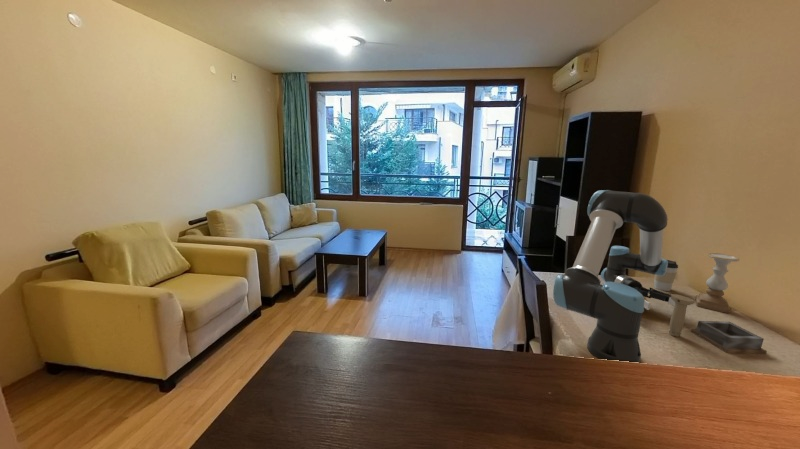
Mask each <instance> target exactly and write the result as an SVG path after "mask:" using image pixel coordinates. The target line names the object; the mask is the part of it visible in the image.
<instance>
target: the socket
mask: <svg viewBox="0 0 800 449" xmlns="http://www.w3.org/2000/svg"><path fill="white" fill-rule="evenodd" d="M690 333H692V334H694V335H696V336H698V337H699V338H701V339H703V340H704V341H706V342H707V343H709V344H711V345H712V346H715V347H716V348H718V349H719V350H721V351H722V352H724V353H730V354H732V353H734V354H735V353H737V354H767V350H766V349H765V348H762V347H763V346H762V345H763V342H764V340H765V339H764V338H763V337H761V336H759V335H758V334H755V333H753V332H752V331H749V330H747V329H745V328H743V327H741V326H739V325H737V324H735V323H733V322H732V321H721V320H720V321H719V320H717V321H715V320H698V321H697V327H696V328H691V329H690Z"/></svg>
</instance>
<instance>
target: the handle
mask: <svg viewBox="0 0 800 449" xmlns="http://www.w3.org/2000/svg"><path fill="white" fill-rule="evenodd" d="M670 295H671V299H672V300H673V301H675V306H673V310H672V313H671V316H670V321H669V330H668V334H670V335H671V336H673V337H677V338H679V337H680V336H681V333H682V331H683V329H684V326H685V321H686V319H685V318H686V313H687V312H686V311H687V308H688V306H692V305H693V304H694V303H695V300H694V299H692V298H691V297H689V296H688V297H687V296H684V295H681V294H676V293H673V294H670Z"/></svg>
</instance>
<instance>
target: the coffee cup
mask: <svg viewBox="0 0 800 449" xmlns="http://www.w3.org/2000/svg"><path fill="white" fill-rule="evenodd" d="M666 260H667V261H668V266H667V270H666V273H665V275H663V276H661V275H654V282H653V283H654V285H653V287H654V289H655V290H658V291H662V292H670V291H671V289H672V287H673V284H674V282H675V278H676V275H677V271H678V269H679V265H678V264H677V261H675V260H669V259H666Z"/></svg>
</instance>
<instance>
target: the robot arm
mask: <svg viewBox="0 0 800 449" xmlns="http://www.w3.org/2000/svg"><path fill="white" fill-rule="evenodd" d="M586 212H587V216H588V218H589V220H590V224H589V226H588V228H587V232H586V234H585V236H584V239H583V241H582V244H581V246H580V248H579V250H578V253H577V255H576V258H575V260H574V263H573V265H572V267H568V268H567V269H566V270H565V272H564V273H559V274H557V275H556V277H555V280H554V283H553V289H552V291H553V292H552V293H553V302H554V303H555V305H556V306H558V307H561V308H562V309H565V310H567V311H571V312H574V313H577V314H581V315H583V316H587V317H590V318H594V319H596V326H595V328H594V329H593V331H592V333H591V334H590V336H589V337H588V338H587V345H586V348H587V349H588V351H589V352H590V354H592V355H593V356H595V357H596V358H598V359H600V360H601V359H607V360H619V361H629V362H640V363H641V359H642V352H641V347H640V343H639V333H640V330H641V329H640V328H641V323H642V318H643V313H644V312H645V310H648V311H649V310H650V309H651V306H652V305H651V302H650V301H649V300H646V299H647V298H648V299H655V300H659V301H662V302H666V303H668V305H671V306H673V307H674V306H675V301H673V300H672V299H671V295H672V294H671V293H670V294H669V293H667V292H665V291H662V290H659V289H656V288H652V287H649V288H646V287H644V286H643V285H642V283H641V281H638V280H636V279H634V278H633V277H630V275H629V276H628V275H627V274H626V269H628V270H633V271H636V272H642V273H647V274H651V275H653V276H655V275H661V276H663V275H665V273H666V270H667V266H668V261H667V260H668V259H665V258H663V247H664V246H663V243H664V242H663V241H664V230H665V229H666V228H667V225H668V220H669V219H668V214H667V212H666V210H665V208H664V206H663V205H662V204H661V203H660V201H658V200H657V199H655V198H654V197H652V196H651V195H648V194H646V193H641V192H628V191H619V190H617V191H616V190H610V189H606V190H605V189H604V190H602V189H601V190H600V189H599V190H597V191H595V192H594V193H593V194H592V196H591V197H590V200H589V201H588V206H587V210H586ZM624 223H629V224H636V226H637V228H638V229H639V250H640V251H639V253H640V254H639V253H634V252H630V248H629V247H626V246H622V245H612V246H611V247H610V245H611V243H612V240H613V237H614V235H615V233H616V230H617V229H619V228H621V227H622V226H623V224H624ZM609 248H610V250H609ZM608 250H609V254H608V262H607V266H606V267H605V268H603V270H602V271H601V268H602V266H603V264H604V262H605V261H604V260H605V258H606V256H607V253H608ZM600 271H601V273H600ZM599 273H600V278H601V279H602V280H603V283H602V284H601V280H600V278H599ZM645 298H646V299H645Z"/></svg>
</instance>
